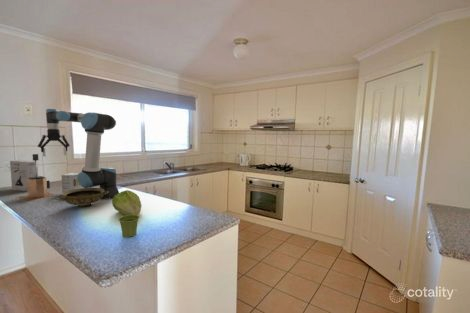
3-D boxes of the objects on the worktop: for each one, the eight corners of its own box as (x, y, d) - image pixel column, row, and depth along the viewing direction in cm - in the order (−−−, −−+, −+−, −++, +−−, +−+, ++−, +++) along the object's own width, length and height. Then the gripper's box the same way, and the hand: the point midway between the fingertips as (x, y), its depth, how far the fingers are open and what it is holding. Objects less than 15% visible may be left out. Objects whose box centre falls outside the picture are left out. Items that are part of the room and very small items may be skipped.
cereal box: (11, 189, 193) (9, 160, 191) (22, 187, 200) (20, 159, 198) (29, 191, 187) (27, 162, 184) (39, 189, 194) (37, 161, 192)
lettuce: (119, 212, 124) (143, 195, 132) (105, 197, 140) (127, 183, 148) (131, 229, 131) (153, 212, 139) (117, 213, 147) (137, 199, 155)
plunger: (45, 185, 170) (43, 154, 168) (32, 186, 164) (31, 154, 162) (41, 183, 174) (39, 153, 171) (29, 185, 167) (27, 154, 165)
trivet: (57, 197, 173) (57, 195, 173) (27, 202, 157) (26, 201, 157) (47, 193, 182) (47, 192, 182) (17, 198, 166) (17, 197, 166)
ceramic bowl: (60, 215, 135) (59, 199, 134) (54, 206, 151) (53, 191, 151) (114, 205, 156) (114, 191, 155) (104, 198, 173) (103, 185, 172)
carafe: (52, 195, 173) (51, 176, 172) (31, 199, 163) (30, 178, 161) (47, 193, 178) (46, 175, 177) (26, 196, 168) (25, 177, 166)
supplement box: (73, 196, 176) (72, 175, 175) (61, 195, 177) (60, 174, 175) (81, 193, 186) (81, 173, 184) (71, 192, 186) (70, 172, 185)
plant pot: (142, 230, 116) (142, 214, 115) (135, 239, 106) (134, 221, 105) (124, 230, 115) (123, 214, 115) (115, 239, 106) (114, 221, 105)
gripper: (69, 129, 189) (71, 154, 191) (31, 128, 168) (33, 156, 170) (73, 129, 185) (75, 155, 187) (34, 128, 164) (36, 157, 166)
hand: (55, 155), depth 178 cm, fingers open, 13 cm apart
